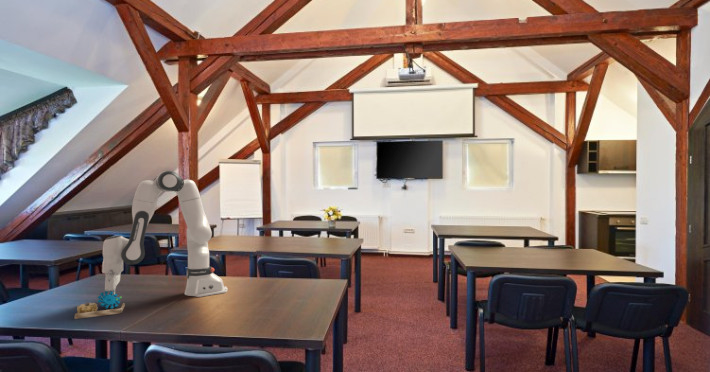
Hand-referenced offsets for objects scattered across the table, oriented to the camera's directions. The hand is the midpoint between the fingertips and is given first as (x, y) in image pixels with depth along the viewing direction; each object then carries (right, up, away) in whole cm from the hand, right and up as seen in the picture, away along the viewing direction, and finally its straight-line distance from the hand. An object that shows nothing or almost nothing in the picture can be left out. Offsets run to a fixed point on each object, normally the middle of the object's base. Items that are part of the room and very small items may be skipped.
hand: (112, 295), depth 187 cm
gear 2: (+2, -4, -5) cm, 7 cm away
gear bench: (+3, -4, -12) cm, 13 cm away
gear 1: (-3, -4, -14) cm, 15 cm away
